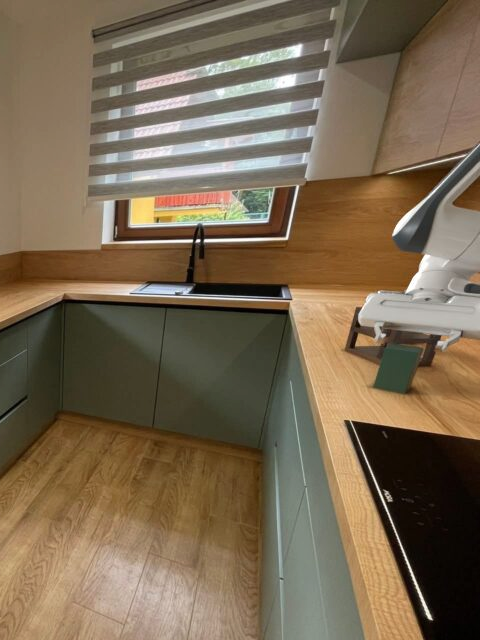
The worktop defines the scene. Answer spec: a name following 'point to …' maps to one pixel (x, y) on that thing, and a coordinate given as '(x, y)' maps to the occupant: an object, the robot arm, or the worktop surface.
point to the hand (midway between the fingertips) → (407, 346)
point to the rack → (388, 341)
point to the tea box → (398, 367)
